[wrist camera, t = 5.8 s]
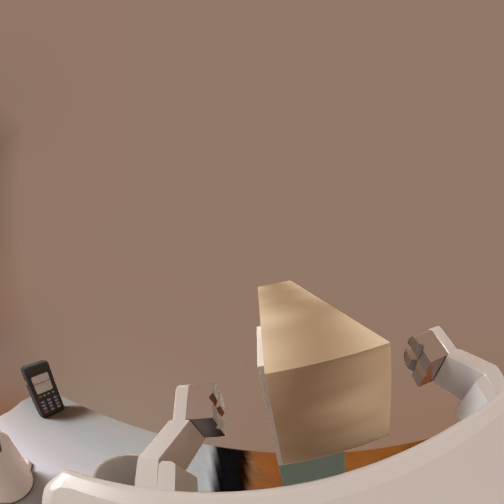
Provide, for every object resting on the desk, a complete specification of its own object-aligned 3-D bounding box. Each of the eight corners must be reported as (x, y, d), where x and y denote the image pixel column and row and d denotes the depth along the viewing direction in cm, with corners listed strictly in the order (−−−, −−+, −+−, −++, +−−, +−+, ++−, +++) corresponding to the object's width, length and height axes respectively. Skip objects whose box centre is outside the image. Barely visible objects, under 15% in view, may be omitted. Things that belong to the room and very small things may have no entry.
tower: (297, 545, 15) (257, 366, 15) (290, 494, 25) (256, 326, 25) (341, 536, 15) (337, 349, 15) (326, 486, 25) (307, 316, 25)
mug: (182, 494, 26) (158, 450, 26) (190, 535, 17) (159, 494, 18) (110, 498, 22) (81, 454, 23) (106, 536, 14) (66, 492, 14)
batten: (283, 464, 6) (264, 374, 6) (263, 318, 28) (257, 286, 28) (388, 435, 6) (390, 342, 6) (295, 312, 28) (290, 280, 28)
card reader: (43, 419, 43) (22, 369, 43) (38, 415, 44) (18, 366, 45) (66, 408, 52) (48, 360, 52) (60, 405, 53) (43, 359, 53)
